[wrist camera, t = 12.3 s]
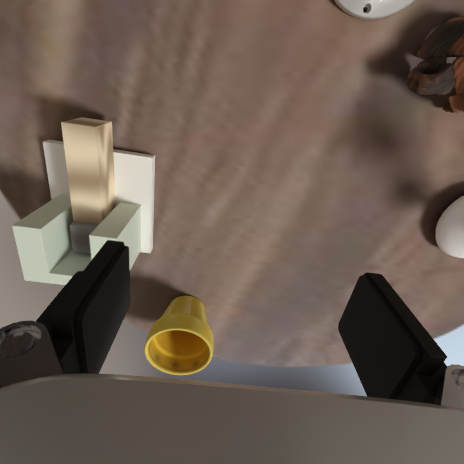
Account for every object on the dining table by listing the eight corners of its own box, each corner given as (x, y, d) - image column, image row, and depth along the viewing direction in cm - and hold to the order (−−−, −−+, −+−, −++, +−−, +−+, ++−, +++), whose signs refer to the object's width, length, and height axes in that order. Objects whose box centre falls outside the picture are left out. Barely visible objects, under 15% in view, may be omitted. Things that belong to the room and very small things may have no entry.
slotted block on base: (49, 139, 38) (-18, 159, 28) (154, 155, 39) (128, 180, 29) (62, 237, 45) (13, 282, 35) (152, 248, 46) (130, 295, 36)
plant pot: (190, 276, 48) (181, 318, 40) (226, 313, 52) (226, 358, 44) (146, 304, 51) (129, 348, 43) (183, 337, 55) (175, 384, 46)
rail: (82, 117, 35) (55, 123, 30) (111, 121, 36) (90, 128, 30) (92, 230, 43) (73, 251, 37) (117, 233, 43) (101, 254, 38)
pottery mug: (484, -4, 32) (565, 13, 27) (450, 80, 39) (508, 106, 34) (391, 37, 31) (457, 63, 26) (375, 115, 38) (423, 147, 33)
